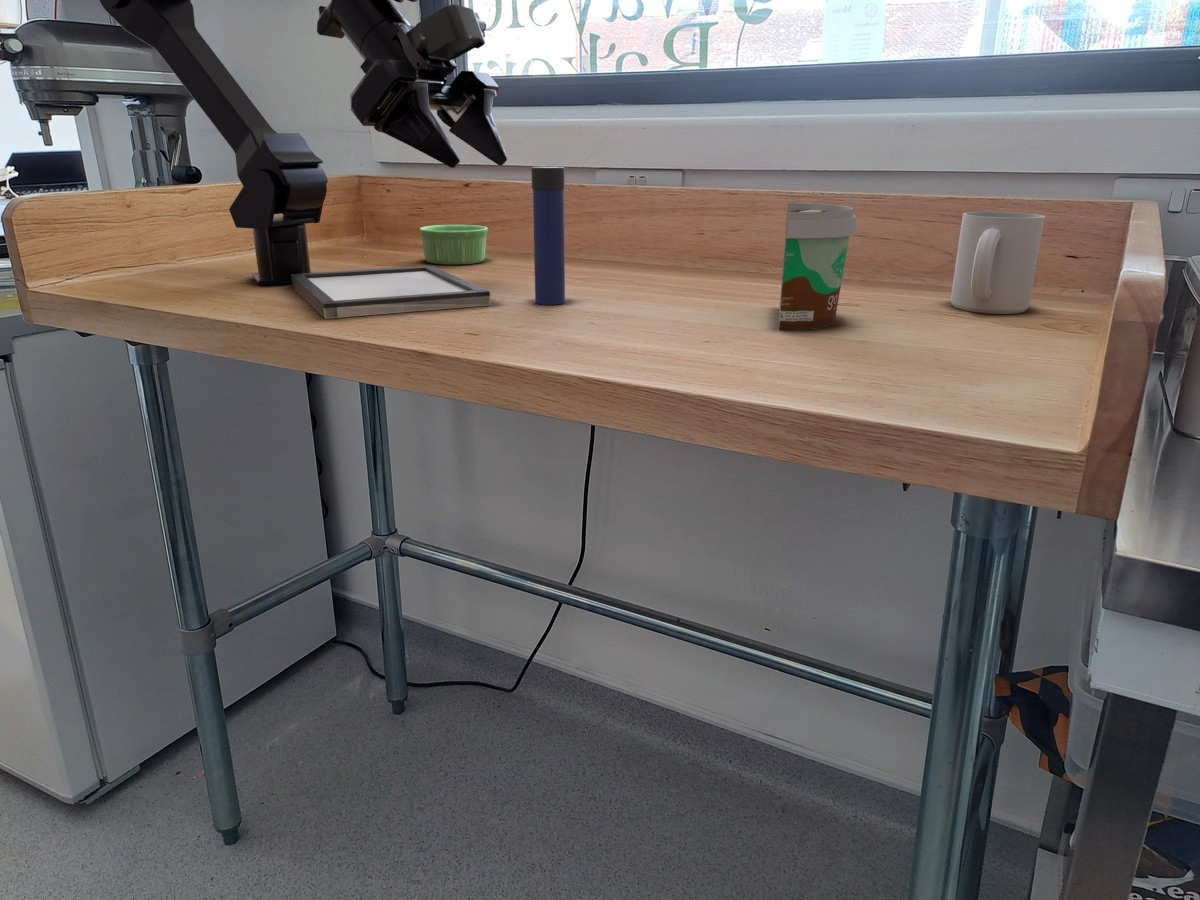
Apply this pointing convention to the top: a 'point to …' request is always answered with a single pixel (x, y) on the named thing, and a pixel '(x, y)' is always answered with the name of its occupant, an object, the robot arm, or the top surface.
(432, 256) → the ramekin
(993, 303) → the cup
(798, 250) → the food container
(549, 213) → the marker
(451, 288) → the whiteboard
